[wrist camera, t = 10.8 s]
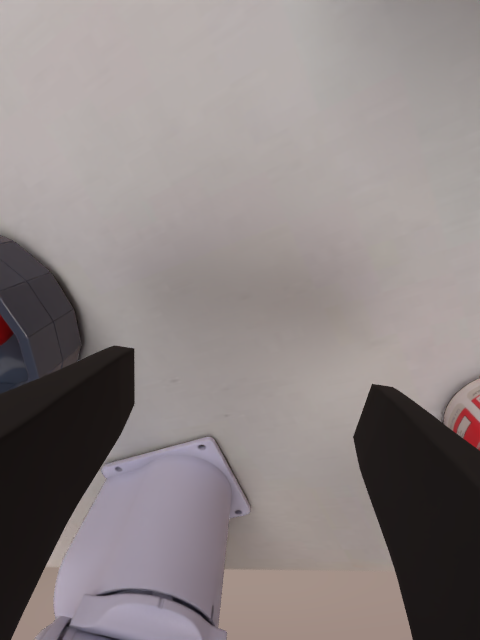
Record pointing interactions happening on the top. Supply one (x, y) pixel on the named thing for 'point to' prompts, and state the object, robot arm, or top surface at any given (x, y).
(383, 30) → the top surface
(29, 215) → the top surface
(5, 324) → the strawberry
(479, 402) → the pill bottle
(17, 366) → the bowl
